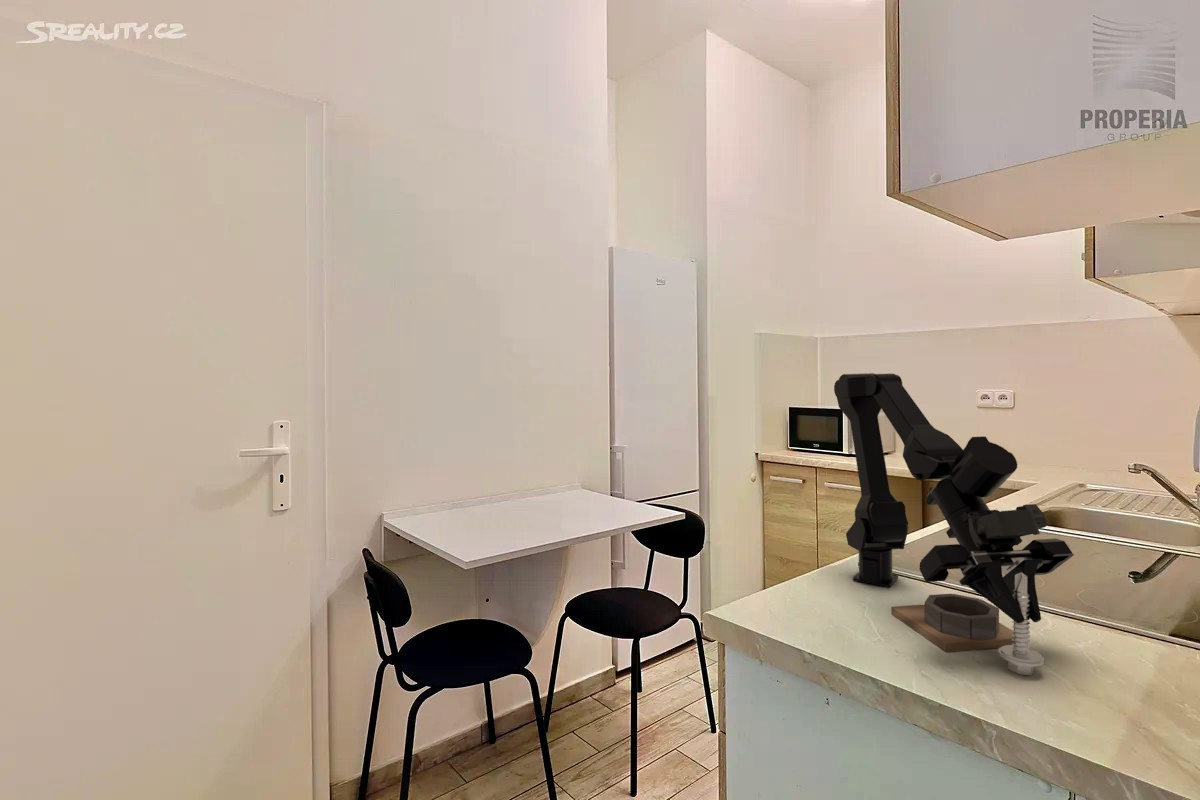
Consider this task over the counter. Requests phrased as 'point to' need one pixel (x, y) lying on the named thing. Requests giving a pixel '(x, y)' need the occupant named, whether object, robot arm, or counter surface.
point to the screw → (1021, 635)
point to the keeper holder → (956, 622)
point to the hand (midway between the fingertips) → (1029, 621)
